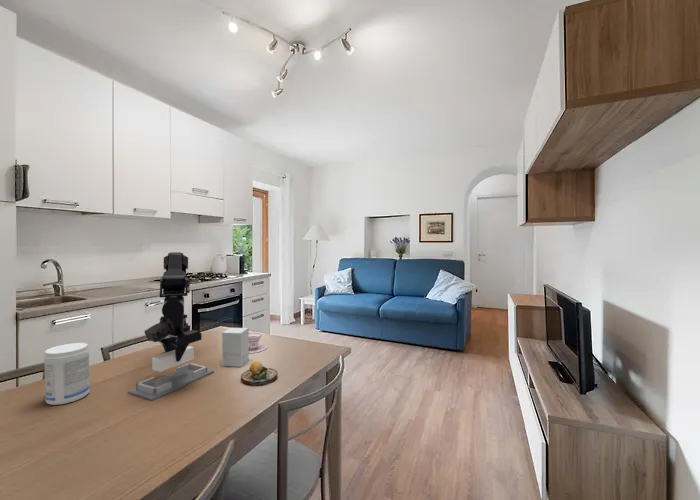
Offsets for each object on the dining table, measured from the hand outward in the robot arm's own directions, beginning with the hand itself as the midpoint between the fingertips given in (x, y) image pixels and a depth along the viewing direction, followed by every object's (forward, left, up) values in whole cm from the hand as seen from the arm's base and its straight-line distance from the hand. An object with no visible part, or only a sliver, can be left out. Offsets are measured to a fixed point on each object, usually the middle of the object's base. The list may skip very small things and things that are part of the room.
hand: (174, 360), depth 101 cm
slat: (0, 0, -1) cm, 1 cm away
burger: (+23, +14, -8) cm, 28 cm away
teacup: (+1, +36, -7) cm, 37 cm away
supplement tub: (-18, -20, -7) cm, 28 cm away
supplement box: (+6, +21, -7) cm, 23 cm away
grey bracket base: (0, 0, -7) cm, 7 cm away
